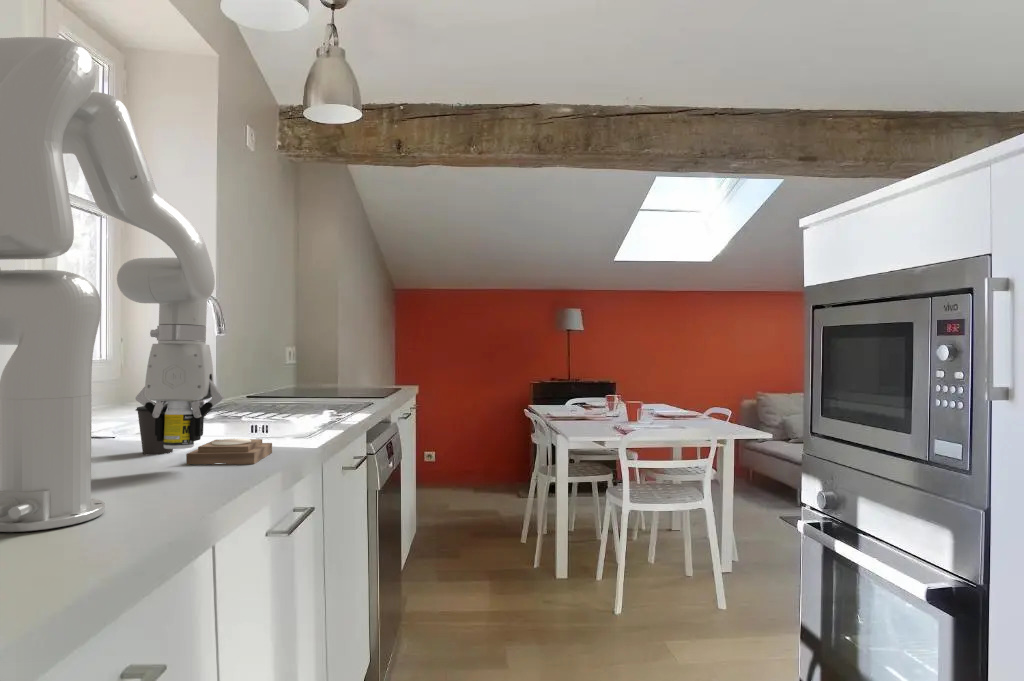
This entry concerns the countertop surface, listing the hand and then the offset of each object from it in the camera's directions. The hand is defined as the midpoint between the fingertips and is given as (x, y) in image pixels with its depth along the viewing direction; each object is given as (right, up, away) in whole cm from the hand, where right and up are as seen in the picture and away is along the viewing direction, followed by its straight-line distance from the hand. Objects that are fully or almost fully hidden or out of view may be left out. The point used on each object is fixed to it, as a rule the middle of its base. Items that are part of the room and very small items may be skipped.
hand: (179, 439), depth 113 cm
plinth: (+4, -5, +12) cm, 14 cm away
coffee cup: (-14, -6, +18) cm, 23 cm away
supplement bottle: (0, -2, 0) cm, 2 cm away
